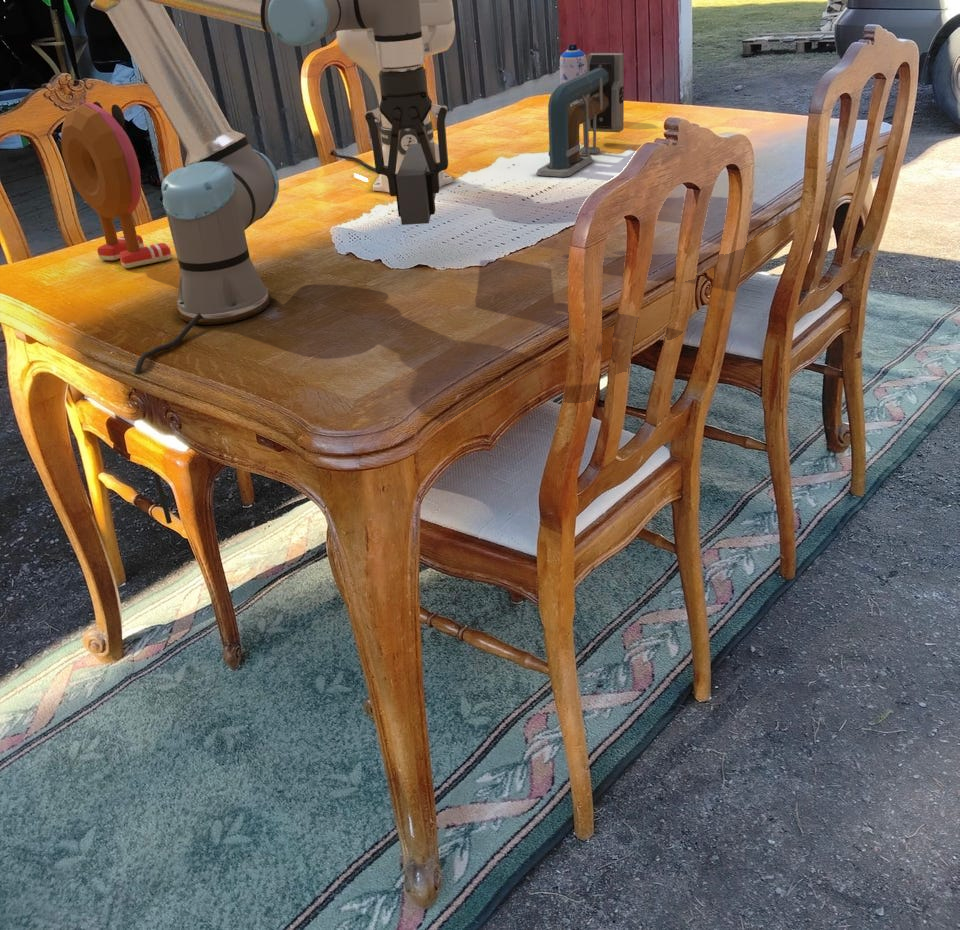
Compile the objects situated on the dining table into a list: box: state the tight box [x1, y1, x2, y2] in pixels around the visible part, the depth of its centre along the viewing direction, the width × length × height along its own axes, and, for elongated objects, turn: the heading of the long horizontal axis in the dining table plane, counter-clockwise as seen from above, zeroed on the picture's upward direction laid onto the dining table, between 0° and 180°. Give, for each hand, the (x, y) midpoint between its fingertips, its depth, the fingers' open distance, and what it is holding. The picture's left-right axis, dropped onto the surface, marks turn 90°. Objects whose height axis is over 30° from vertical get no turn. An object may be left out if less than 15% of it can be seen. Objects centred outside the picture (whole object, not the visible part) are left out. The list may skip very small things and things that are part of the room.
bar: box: [396, 143, 437, 226], centre depth 169 cm, size 23×5×8 cm, turn 178°
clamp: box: [535, 52, 625, 178], centre depth 233 cm, size 35×9×21 cm, turn 151°
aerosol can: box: [559, 43, 587, 107], centre depth 273 cm, size 8×8×20 cm
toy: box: [60, 101, 172, 269], centre depth 187 cm, size 21×10×30 cm, turn 47°
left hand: (417, 213), depth 165 cm, fingers closed on bar, 5 cm apart
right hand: (404, 53), depth 186 cm, fingers open, 8 cm apart
